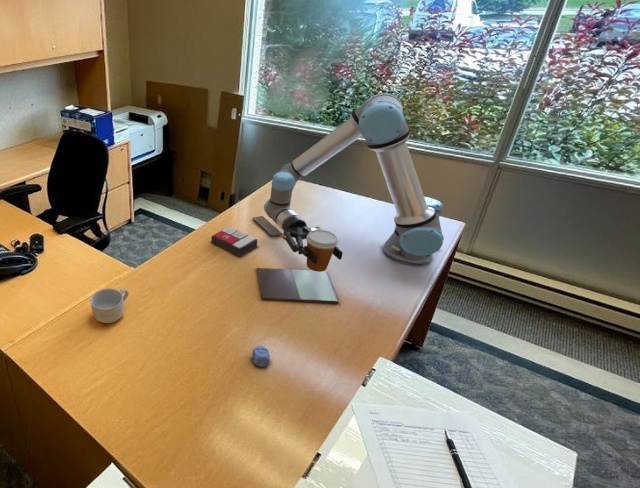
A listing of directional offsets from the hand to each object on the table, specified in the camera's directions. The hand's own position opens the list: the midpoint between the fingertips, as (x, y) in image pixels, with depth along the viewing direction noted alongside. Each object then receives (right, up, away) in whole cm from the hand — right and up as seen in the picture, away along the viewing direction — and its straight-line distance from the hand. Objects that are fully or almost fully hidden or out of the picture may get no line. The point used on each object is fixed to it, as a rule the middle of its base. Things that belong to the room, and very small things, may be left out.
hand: (328, 258), depth 133 cm
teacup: (-70, -20, +6) cm, 73 cm away
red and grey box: (-21, +2, +38) cm, 43 cm away
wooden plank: (-4, +9, +48) cm, 49 cm away
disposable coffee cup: (0, -4, +7) cm, 8 cm away
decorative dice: (-27, -28, -15) cm, 42 cm away
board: (-6, -11, +12) cm, 18 cm away
